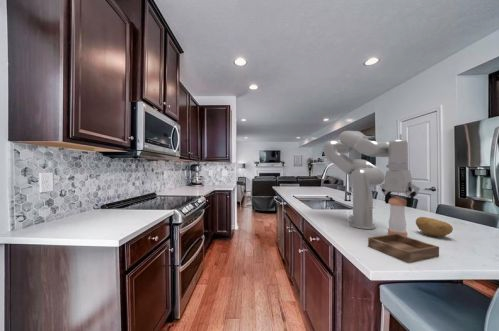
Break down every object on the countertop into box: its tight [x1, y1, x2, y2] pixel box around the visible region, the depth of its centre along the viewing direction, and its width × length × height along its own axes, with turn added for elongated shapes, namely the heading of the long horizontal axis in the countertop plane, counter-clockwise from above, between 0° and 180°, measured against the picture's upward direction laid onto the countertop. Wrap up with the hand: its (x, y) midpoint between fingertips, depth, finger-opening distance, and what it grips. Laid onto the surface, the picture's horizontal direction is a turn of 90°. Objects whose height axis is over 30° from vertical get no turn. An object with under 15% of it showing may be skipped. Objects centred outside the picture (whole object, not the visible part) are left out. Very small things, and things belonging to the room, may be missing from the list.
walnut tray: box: [367, 234, 440, 264], centre depth 83 cm, size 16×16×4 cm
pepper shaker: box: [387, 195, 408, 237], centre depth 98 cm, size 7×7×19 cm
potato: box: [415, 216, 453, 238], centre depth 102 cm, size 10×14×8 cm
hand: (398, 204), depth 97 cm, fingers open, 9 cm apart
